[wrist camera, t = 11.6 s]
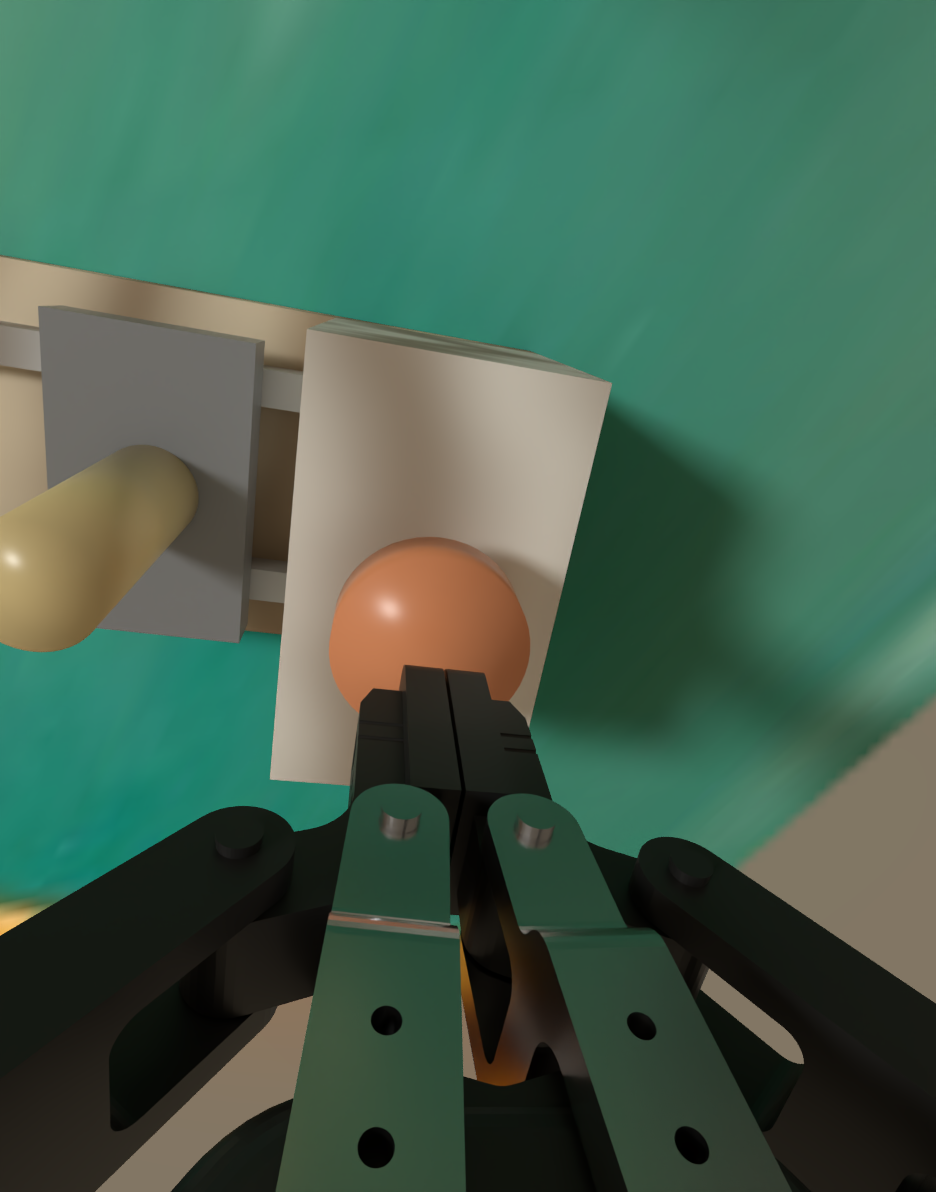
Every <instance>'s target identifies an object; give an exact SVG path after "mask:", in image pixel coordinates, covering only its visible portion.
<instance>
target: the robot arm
mask: <svg viewBox="0 0 936 1192" xmlns="http://www.w3.org/2000/svg"><path fill="white" fill-rule="evenodd" d="M450 915H459V918H460V926H461V931H460V935H459V930H458V927H457V926H453V925H450ZM708 969H711V970H712V971H713V972H714V973H716V974H717V975H718V976H720V977H721V978H722V979H723V980H724V981H726V982H727V983H728V984H730V985H731V986H732V987H733V988H735V989H736V990H737V991H739V992H740V993H741V994H742V995H744V996H745V997H746V998H747V999H749V1000H750V1001H751V1002H752V1003H754V1004H755V1005H756V1006H757V1007H759V1008H760V1009H761V1010H762V1011H764V1012H765V1013H766V1014H767V1015H769V1016H770V1017H771V1018H773V1019H774V1020H775V1021H776V1022H778V1023H779V1024H780V1025H781V1026H783V1027H784V1028H785V1029H786V1030H787V1031H788V1032H789V1033H790V1034H791V1035H792V1036H793V1038H794V1039H795V1040H796V1042H797V1043H798V1045H799V1047H800V1049H801V1051H802V1054H803V1058H804V1064H797V1063H793V1062H791V1061H789V1060H787V1059H785V1058H784V1057H782V1056H781V1055H780V1054H778V1053H777V1052H776V1051H775V1050H773V1049H772V1048H771V1047H770V1046H769V1045H767V1044H766V1043H765V1042H764V1041H762V1040H761V1039H760V1038H759V1037H758V1036H756V1035H755V1034H754V1033H753V1032H752V1031H750V1030H749V1029H748V1028H747V1027H745V1026H744V1025H743V1024H742V1023H741V1022H739V1021H738V1020H737V1019H736V1018H734V1017H733V1016H732V1015H731V1014H730V1013H728V1012H727V1011H726V1010H725V1009H723V1008H722V1007H721V1006H720V1005H719V1004H717V1003H716V1002H715V1001H714V1000H712V999H711V998H710V997H709V996H708V995H706V994H705V993H704V992H703V991H702V990H700V988H701V986H702V984H703V981H704V979H705V977H706V974H707V972H708ZM310 996H313V999H312V1005H311V1010H310V1015H309V1020H308V1025H307V1031H306V1036H305V1042H304V1046H303V1052H302V1057H301V1062H300V1067H299V1072H298V1078H297V1083H296V1089H295V1093H294V1098H293V1099H291V1100H288V1101H285V1102H283V1103H281V1104H278V1105H276V1106H273V1107H271V1108H269V1109H267V1110H265V1111H264V1112H262V1113H260V1114H259V1115H256V1116H255V1117H253V1118H251V1119H249V1120H247V1121H246V1122H245V1123H243V1124H242V1125H241V1126H239V1127H238V1128H236V1129H235V1130H233V1131H232V1132H231V1133H229V1134H228V1135H227V1136H225V1137H224V1138H223V1139H222V1140H221V1141H220V1142H218V1143H217V1144H216V1145H215V1146H214V1147H213V1148H212V1149H211V1150H209V1151H208V1152H207V1153H206V1154H205V1155H204V1156H203V1157H202V1158H201V1159H200V1160H199V1161H198V1162H197V1163H196V1164H195V1165H194V1166H193V1167H192V1168H191V1170H190V1171H189V1172H188V1173H187V1174H186V1175H185V1176H184V1177H183V1179H182V1180H181V1181H180V1182H179V1183H178V1184H177V1185H176V1186H175V1188H174V1189H173V1190H172V1191H171V1192H936V1003H934V1002H933V1001H931V1000H930V999H928V998H927V997H925V996H924V995H922V994H921V993H919V992H918V991H916V990H915V989H913V988H912V987H910V986H909V985H907V984H906V983H904V982H903V981H902V980H900V979H899V978H897V977H895V976H894V975H893V974H891V973H890V972H888V971H887V970H885V969H884V968H882V967H881V966H879V965H877V964H876V963H875V962H873V961H871V960H870V959H869V958H867V957H866V956H864V955H863V954H861V953H860V952H859V951H857V950H856V949H854V948H853V947H851V946H850V945H848V944H847V943H845V942H844V941H842V940H841V939H839V938H838V937H836V936H835V935H833V934H832V933H830V932H829V931H827V930H826V929H824V928H823V927H822V926H820V925H818V924H817V923H816V922H814V921H813V920H811V919H810V918H808V917H806V916H805V915H804V914H802V913H801V912H799V911H798V910H796V909H795V908H793V907H792V906H790V905H789V904H787V903H786V902H784V901H783V900H782V899H780V898H779V897H777V896H775V895H774V894H773V893H771V892H769V891H768V890H767V889H765V888H764V887H762V886H761V885H759V884H758V883H756V882H755V881H753V880H752V879H750V878H749V877H747V876H746V875H744V874H743V873H742V872H740V871H739V870H737V869H736V868H734V867H733V866H731V865H730V864H728V863H727V862H725V861H724V860H722V859H721V858H719V857H718V856H716V855H715V854H713V853H712V852H710V851H709V850H707V849H705V848H704V847H702V846H700V845H698V844H695V843H693V842H690V841H687V840H684V839H680V838H674V837H659V838H655V839H651V840H649V841H648V842H646V843H645V844H644V845H643V846H642V848H641V849H640V852H639V855H638V858H634V857H631V856H628V855H625V854H621V853H618V852H615V851H612V850H608V849H605V848H602V847H600V846H597V845H595V844H592V843H590V842H588V841H586V839H585V836H584V834H583V832H582V830H581V828H580V826H579V824H578V822H577V820H576V819H575V818H574V817H573V815H572V814H571V813H570V812H569V811H567V810H566V809H565V808H564V807H562V806H561V805H559V804H557V803H556V802H554V801H552V798H551V795H550V792H549V789H548V785H547V782H546V779H545V776H544V773H543V770H542V767H541V764H540V761H539V758H538V755H537V754H536V749H535V746H534V743H533V740H532V739H531V733H530V730H529V727H528V724H527V721H526V718H525V717H524V716H523V715H522V714H521V713H520V712H519V711H518V710H517V709H516V708H515V707H514V706H513V705H512V704H511V702H509V701H499V700H492V699H491V695H490V692H489V688H488V684H487V680H486V676H485V674H484V673H481V672H472V671H463V670H453V669H445V670H443V669H442V668H433V667H423V666H414V665H405V664H404V666H403V670H402V674H401V680H400V687H399V691H397V690H387V689H377V688H373V689H372V690H371V691H370V692H369V693H368V695H367V696H366V697H365V698H364V699H363V700H362V701H361V702H360V710H359V717H358V724H357V732H356V739H355V746H354V754H353V761H352V768H351V778H350V791H349V803H348V809H347V811H345V812H344V813H343V814H342V815H341V816H340V817H338V818H337V819H336V820H334V821H332V822H330V823H328V824H326V825H323V826H320V827H317V828H312V829H308V830H302V831H296V832H294V831H293V829H292V828H291V826H290V825H289V823H288V822H287V821H286V820H285V819H283V818H282V817H281V816H279V815H278V814H276V813H274V812H272V811H269V810H266V809H263V808H258V807H251V806H235V807H228V808H223V809H219V810H216V811H213V812H211V813H209V814H207V815H205V816H203V817H201V818H199V819H197V820H196V821H194V822H192V823H191V824H189V825H187V826H186V827H184V828H182V829H180V830H179V831H177V832H175V833H174V834H172V835H170V836H169V837H167V838H165V839H163V840H162V841H160V842H158V843H157V844H155V845H153V846H152V847H150V848H148V849H147V850H145V851H143V852H141V853H140V854H138V855H136V856H135V857H133V858H131V859H130V860H128V861H126V862H124V863H123V864H121V865H119V866H118V867H116V868H114V869H113V870H111V871H109V872H107V873H106V874H104V875H102V876H101V877H99V878H97V879H96V880H94V881H92V882H91V883H89V884H87V885H85V886H84V887H82V888H80V889H79V890H77V891H75V892H74V893H72V894H70V895H68V896H67V897H65V898H63V899H62V900H60V901H58V902H57V903H55V904H53V905H51V906H50V907H48V908H46V909H45V910H43V911H41V912H40V913H38V914H36V915H35V916H33V917H31V918H29V919H28V920H26V921H24V922H23V923H21V924H19V925H18V926H16V927H14V928H12V929H11V930H9V931H7V932H6V933H4V934H2V935H1V936H0V1192H95V1191H96V1190H97V1189H98V1188H99V1187H100V1186H101V1185H102V1184H103V1183H104V1182H105V1181H106V1180H107V1179H108V1178H109V1177H110V1176H111V1175H113V1174H114V1173H115V1171H116V1170H118V1169H119V1168H120V1167H121V1166H122V1165H123V1164H124V1163H125V1162H126V1161H127V1160H128V1159H129V1158H130V1157H131V1156H132V1155H133V1154H134V1153H135V1152H136V1151H137V1150H138V1149H139V1148H140V1147H141V1146H142V1145H143V1144H144V1143H145V1142H146V1141H148V1139H150V1138H151V1137H152V1136H153V1135H154V1134H155V1133H156V1132H157V1131H158V1130H159V1129H160V1128H161V1127H162V1126H163V1125H164V1124H165V1123H166V1122H167V1121H168V1120H169V1119H170V1118H171V1117H172V1116H173V1115H174V1114H175V1113H176V1112H177V1111H178V1110H179V1109H181V1108H182V1107H183V1105H185V1104H186V1103H187V1102H188V1101H189V1100H190V1099H191V1098H192V1097H193V1096H194V1095H195V1094H196V1093H197V1092H198V1091H199V1090H200V1089H201V1088H202V1087H203V1086H204V1085H205V1084H206V1083H207V1082H208V1081H209V1080H210V1079H211V1078H212V1077H213V1076H215V1075H216V1074H217V1072H219V1071H220V1070H221V1069H222V1068H223V1067H224V1066H225V1065H226V1064H227V1063H228V1062H229V1061H230V1060H231V1059H232V1058H233V1057H234V1056H235V1055H236V1054H237V1053H238V1052H239V1051H240V1050H241V1049H242V1048H243V1047H244V1046H245V1045H246V1044H247V1043H248V1042H250V1041H251V1040H252V1039H253V1038H254V1037H255V1036H256V1034H258V1033H259V1032H260V1031H261V1030H262V1029H263V1028H264V1027H265V1026H266V1025H267V1023H268V1022H269V1021H270V1020H271V1018H272V1016H273V1015H274V1013H275V1010H276V1008H277V1006H279V1005H282V1004H285V1003H289V1002H292V1001H296V1000H299V999H303V998H306V997H310ZM461 996H462V1002H463V1007H464V1012H465V1018H466V1023H467V1029H468V1034H469V1039H470V1045H471V1050H472V1056H473V1061H474V1067H475V1072H476V1077H477V1080H474V1079H471V1078H467V1077H464V1076H463V1052H462V1051H463V1050H462V1009H461Z"/></svg>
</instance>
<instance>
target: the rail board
mask: <svg viewBox="0 0 936 1192" xmlns="http://www.w3.org/2000/svg"><path fill="white" fill-rule="evenodd" d="M57 305H63V306H69V307H75V308H80V309H86V310H92V311H98V312H103V313H109V314H115V315H121V316H127V317H132V318H138V319H144V320H150V321H155V322H161V323H167V324H173V325H178V326H184V327H190V328H196V329H202V330H207V331H213V332H219V333H225V334H230V335H236V336H242V337H248V338H253V339H259V340H265V349H264V366H263V382H262V398H261V415H260V431H259V447H258V464H257V480H256V496H255V513H254V529H253V545H252V562H251V578H250V594H249V611H248V624H247V626H246V629H245V630H247V631H256V632H265V633H274V634H282V638H281V650H280V663H279V675H278V687H277V699H276V712H275V724H274V736H273V748H272V760H271V773H270V779H272V780H285V781H298V782H311V783H324V784H337V785H350V778H351V768H352V761H353V754H354V746H355V739H356V732H357V724H358V717H359V713H358V712H357V711H356V710H355V709H353V708H352V707H351V705H350V704H349V703H348V702H347V701H346V699H345V698H344V697H343V695H342V693H341V692H340V690H339V689H338V687H337V684H336V682H335V680H334V677H333V674H332V670H331V667H330V659H329V640H330V635H331V629H332V624H333V618H334V613H335V607H336V603H337V600H338V597H339V594H340V591H341V589H342V588H343V586H344V584H345V582H346V580H347V579H348V577H349V576H350V575H351V573H352V572H353V571H354V570H355V569H356V568H357V567H358V565H359V564H360V563H361V562H363V561H364V560H365V559H366V558H368V557H369V556H370V555H372V554H373V553H375V552H376V551H378V550H380V549H381V548H384V547H386V546H388V545H390V544H392V543H396V542H399V541H402V540H406V539H411V538H417V537H440V538H447V539H452V540H456V541H459V542H462V543H465V544H468V545H470V546H472V547H474V548H476V549H478V550H479V551H481V552H482V553H484V554H485V555H487V556H488V557H489V558H491V559H492V560H493V561H494V562H495V563H496V564H497V565H498V566H499V567H500V568H501V569H502V571H503V572H504V573H505V575H506V576H507V578H508V579H509V581H510V582H511V585H512V587H513V589H514V591H515V594H516V596H517V598H518V601H519V603H520V606H521V608H522V610H523V613H524V615H525V617H526V621H527V624H528V628H529V635H530V656H529V662H528V666H527V669H526V672H525V675H524V677H523V680H522V682H521V684H520V686H519V687H518V689H517V690H516V692H515V694H514V695H513V696H512V698H511V699H510V700H509V702H511V704H512V705H513V706H514V707H515V708H516V709H517V710H518V711H519V712H520V713H521V714H522V715H523V716H524V717H525V718H526V721H527V724H528V727H529V725H530V720H531V716H532V712H533V708H534V704H535V700H536V696H537V691H538V687H539V683H540V679H541V675H542V671H543V667H544V663H545V658H546V654H547V650H548V646H549V642H550V638H551V634H552V630H553V625H554V621H555V617H556V613H557V609H558V605H559V601H560V596H561V592H562V588H563V584H564V580H565V576H566V572H567V568H568V563H569V559H570V555H571V551H572V547H573V543H574V539H575V534H576V530H577V526H578V522H579V518H580V514H581V510H582V506H583V501H584V497H585V493H586V489H587V485H588V481H589V477H590V473H591V468H592V464H593V460H594V456H595V452H596V448H597V444H598V439H599V435H600V431H601V427H602V423H603V419H604V415H605V411H606V406H607V402H608V398H609V394H610V390H611V386H612V383H610V382H608V381H605V380H603V379H600V378H598V377H595V376H593V375H590V374H587V373H585V372H582V371H580V370H577V369H575V368H572V367H569V366H567V365H564V364H562V363H559V362H557V361H554V360H552V359H549V358H546V357H544V356H541V355H539V354H536V353H534V352H531V351H526V350H521V349H515V348H510V347H504V346H499V345H493V344H488V343H482V342H477V341H471V340H466V339H460V338H455V337H449V336H444V335H438V334H433V333H427V332H422V331H416V330H411V329H405V328H400V327H394V326H389V325H383V324H378V323H372V322H367V321H361V320H356V319H350V318H345V317H339V316H334V315H328V314H323V313H317V312H312V311H306V310H301V309H295V308H290V307H284V306H279V305H273V304H268V303H262V302H257V301H251V300H246V299H240V298H235V297H229V296H224V295H218V294H213V293H207V292H202V291H196V290H191V289H185V288H180V287H174V286H169V285H163V284H158V283H152V282H147V281H141V280H136V279H130V278H125V277H119V276H114V275H108V274H103V273H97V272H92V271H86V270H81V269H75V268H70V267H64V266H59V265H53V264H48V263H42V262H37V261H31V260H26V259H20V258H14V257H9V256H3V255H0V517H1V516H3V515H4V514H6V513H8V512H10V511H11V510H13V509H15V508H17V507H19V506H20V505H22V504H24V503H26V502H28V501H29V500H31V499H33V498H35V497H36V496H38V495H40V494H42V493H44V492H45V491H47V490H48V487H47V468H46V449H45V430H44V411H43V392H42V373H41V354H40V335H39V316H38V306H57Z"/></svg>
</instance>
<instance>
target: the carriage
mask: <svg viewBox="0 0 936 1192" xmlns="http://www.w3.org/2000/svg"><path fill="white" fill-rule="evenodd" d="M38 316H39V335H40V354H41V373H42V392H43V411H44V430H45V449H46V468H47V487H48V490H47V491H45V492H44V493H42V494H40V495H38V496H36V497H35V498H33V499H31V500H29V501H28V502H26V503H24V504H22V505H20V506H19V507H17V508H15V509H13V510H11V511H10V512H8V513H6V514H4V515H3V516H1V517H0V642H1V643H3V644H6V645H8V646H11V647H14V648H18V649H21V650H26V651H33V652H51V651H57V650H62V649H65V648H69V647H71V646H73V645H75V644H78V643H79V642H81V641H82V640H84V639H85V638H86V637H87V636H89V635H90V634H91V633H92V632H93V630H94V629H95V628H101V629H111V630H120V631H129V632H139V633H148V634H158V635H167V636H177V637H186V638H196V639H205V640H214V641H224V642H233V643H239V642H240V640H241V638H242V635H243V633H244V631H245V629H246V626H247V624H248V611H249V594H250V578H251V562H252V545H253V529H254V513H255V496H256V480H257V464H258V447H259V431H260V415H261V398H262V382H263V366H264V349H265V340H259V339H253V338H248V337H242V336H236V335H230V334H225V333H219V332H213V331H207V330H202V329H196V328H190V327H184V326H178V325H173V324H167V323H161V322H155V321H150V320H144V319H138V318H132V317H127V316H121V315H115V314H109V313H103V312H98V311H92V310H86V309H80V308H75V307H69V306H63V305H57V306H38Z"/></svg>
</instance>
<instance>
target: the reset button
mask: <svg viewBox="0 0 936 1192" xmlns="http://www.w3.org/2000/svg"><path fill="white" fill-rule="evenodd" d="M529 656H530V635H529V628H528V624H527V621H526V617H525V615H524V613H523V610H522V608H521V606H520V603H519V601H518V598H517V596H516V594H515V591H514V589H513V587H512V585H511V582H510V581H509V579H508V578H507V576H506V575H505V573H504V572H503V571H502V569H501V568H500V567H499V566H498V565H497V564H496V563H495V562H494V561H493V560H492V559H491V558H489V557H488V556H487V555H485V554H484V553H482V552H481V551H479V550H478V549H476V548H474V547H472V546H470V545H468V544H465V543H462V542H459V541H456V540H452V539H447V538H440V537H417V538H411V539H406V540H402V541H399V542H396V543H392V544H390V545H388V546H386V547H384V548H381V549H380V550H378V551H376V552H375V553H373V554H372V555H370V556H369V557H368V558H366V559H365V560H364V561H363V562H361V563H360V564H359V565H358V567H357V568H356V569H355V570H354V571H353V572H352V573H351V575H350V576H349V577H348V579H347V580H346V582H345V584H344V586H343V588H342V589H341V591H340V594H339V597H338V600H337V603H336V607H335V613H334V618H333V624H332V629H331V635H330V640H329V659H330V667H331V670H332V674H333V677H334V680H335V682H336V684H337V687H338V689H339V690H340V692H341V693H342V695H343V697H344V698H345V699H346V701H347V702H348V703H349V704H350V705H351V707H352V708H353V709H355V710H356V711H357V712H358V713H359V710H360V702H361V701H362V700H363V699H364V698H365V697H366V696H367V695H368V693H369V692H370V691H371V690H372V689H373V688H377V689H387V690H397V691H399V687H400V680H401V674H402V670H403V666H404V664H405V665H414V666H423V667H433V668H442V669H443V670H445V669H453V670H463V671H472V672H481V673H484V674H485V676H486V680H487V684H488V688H489V692H490V695H491V699H492V700H499V701H509V700H510V699H511V698H512V696H513V695H514V694H515V692H516V690H517V689H518V687H519V686H520V684H521V682H522V680H523V677H524V675H525V672H526V669H527V666H528V662H529Z"/></svg>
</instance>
